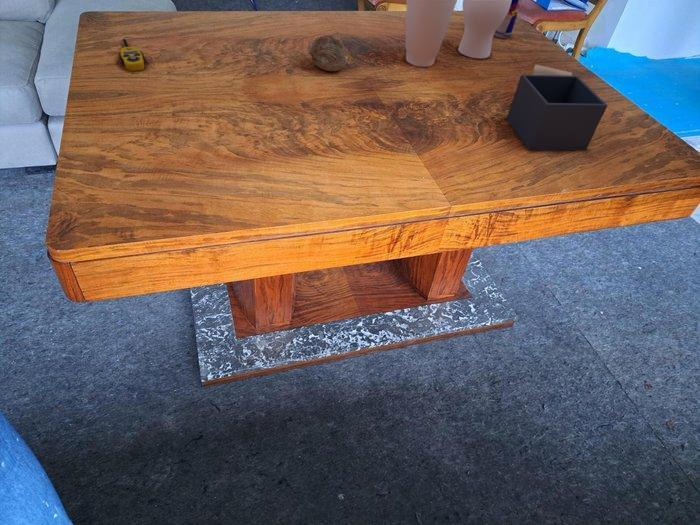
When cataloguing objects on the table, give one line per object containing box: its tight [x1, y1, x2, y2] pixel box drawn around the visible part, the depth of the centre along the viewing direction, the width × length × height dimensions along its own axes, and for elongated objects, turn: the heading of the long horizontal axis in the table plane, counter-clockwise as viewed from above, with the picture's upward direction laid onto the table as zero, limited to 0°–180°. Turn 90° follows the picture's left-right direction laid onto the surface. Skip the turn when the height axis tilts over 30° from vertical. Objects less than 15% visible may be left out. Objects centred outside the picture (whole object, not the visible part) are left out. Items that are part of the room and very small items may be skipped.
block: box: [531, 64, 573, 76], centre depth 110 cm, size 8×8×7 cm
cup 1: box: [404, 0, 458, 68], centre depth 119 cm, size 12×12×16 cm
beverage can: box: [494, 0, 522, 39], centre depth 136 cm, size 5×5×15 cm
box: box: [506, 74, 608, 151], centre depth 100 cm, size 12×12×10 cm
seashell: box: [307, 35, 347, 72], centre depth 114 cm, size 9×7×8 cm
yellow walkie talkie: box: [118, 38, 146, 72], centre depth 111 cm, size 5×2×15 cm
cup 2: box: [457, 0, 512, 59], centre depth 125 cm, size 11×11×16 cm
